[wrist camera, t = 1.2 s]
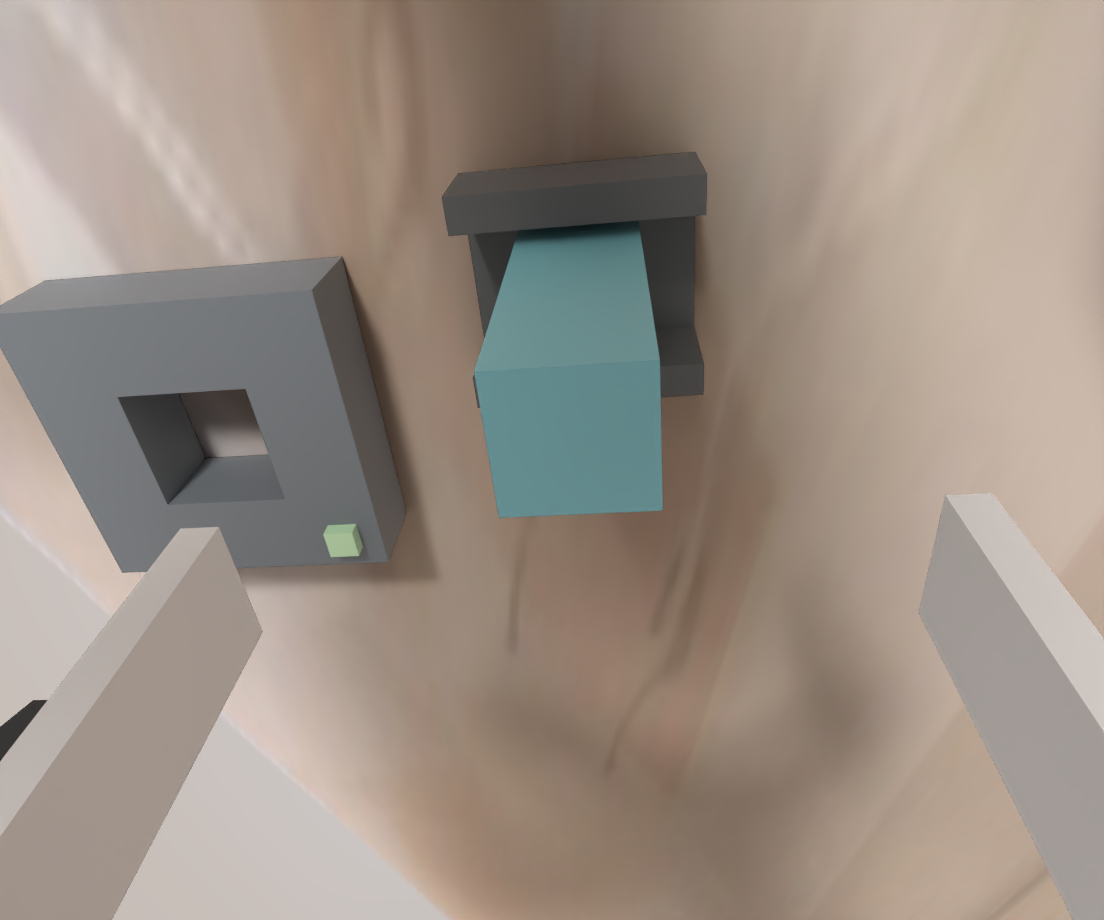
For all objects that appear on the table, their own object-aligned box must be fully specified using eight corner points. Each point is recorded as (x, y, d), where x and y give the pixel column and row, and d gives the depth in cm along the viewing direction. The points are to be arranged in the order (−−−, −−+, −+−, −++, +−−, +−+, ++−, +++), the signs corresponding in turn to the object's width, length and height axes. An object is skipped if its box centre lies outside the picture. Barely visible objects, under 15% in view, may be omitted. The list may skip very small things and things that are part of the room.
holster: (461, 169, 26) (441, 196, 23) (693, 148, 25) (706, 173, 22) (491, 361, 30) (478, 408, 27) (692, 348, 29) (703, 394, 26)
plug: (522, 218, 26) (474, 371, 16) (636, 209, 26) (660, 359, 16) (534, 324, 28) (499, 518, 18) (640, 317, 28) (662, 510, 18)
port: (44, 280, 29) (-30, 321, 26) (341, 256, 28) (305, 296, 24) (161, 523, 36) (114, 582, 32) (406, 512, 34) (385, 572, 31)
